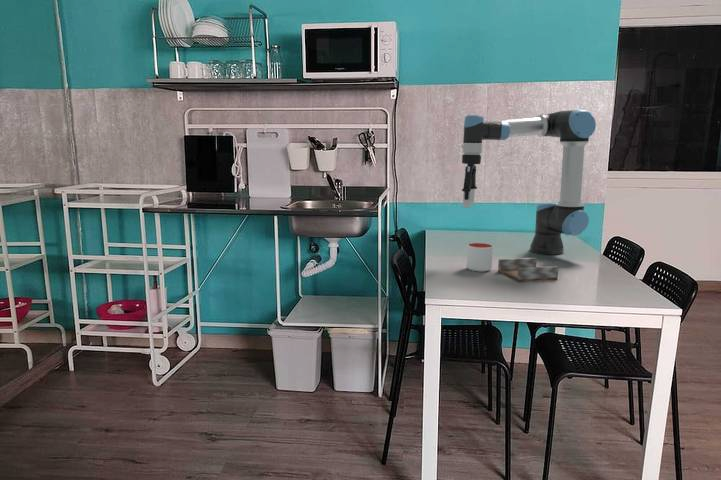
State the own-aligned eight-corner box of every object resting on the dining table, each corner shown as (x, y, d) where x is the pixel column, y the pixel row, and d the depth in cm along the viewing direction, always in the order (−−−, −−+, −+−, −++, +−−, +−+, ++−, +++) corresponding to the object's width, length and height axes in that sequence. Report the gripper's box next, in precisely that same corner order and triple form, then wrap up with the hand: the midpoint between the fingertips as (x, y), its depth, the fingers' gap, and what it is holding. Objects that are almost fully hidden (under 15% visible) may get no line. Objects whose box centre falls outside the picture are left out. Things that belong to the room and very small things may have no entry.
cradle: (533, 269, 218) (534, 257, 217) (557, 279, 202) (558, 267, 201) (497, 271, 214) (498, 259, 213) (519, 282, 199) (520, 268, 198)
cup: (492, 267, 221) (494, 244, 219) (490, 273, 211) (491, 248, 209) (468, 265, 224) (469, 242, 222) (464, 271, 215) (465, 246, 213)
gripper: (466, 153, 231) (463, 202, 235) (457, 154, 208) (454, 208, 212) (484, 154, 229) (480, 203, 233) (477, 154, 205) (473, 209, 209)
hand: (468, 206), depth 222 cm, fingers open, 13 cm apart
